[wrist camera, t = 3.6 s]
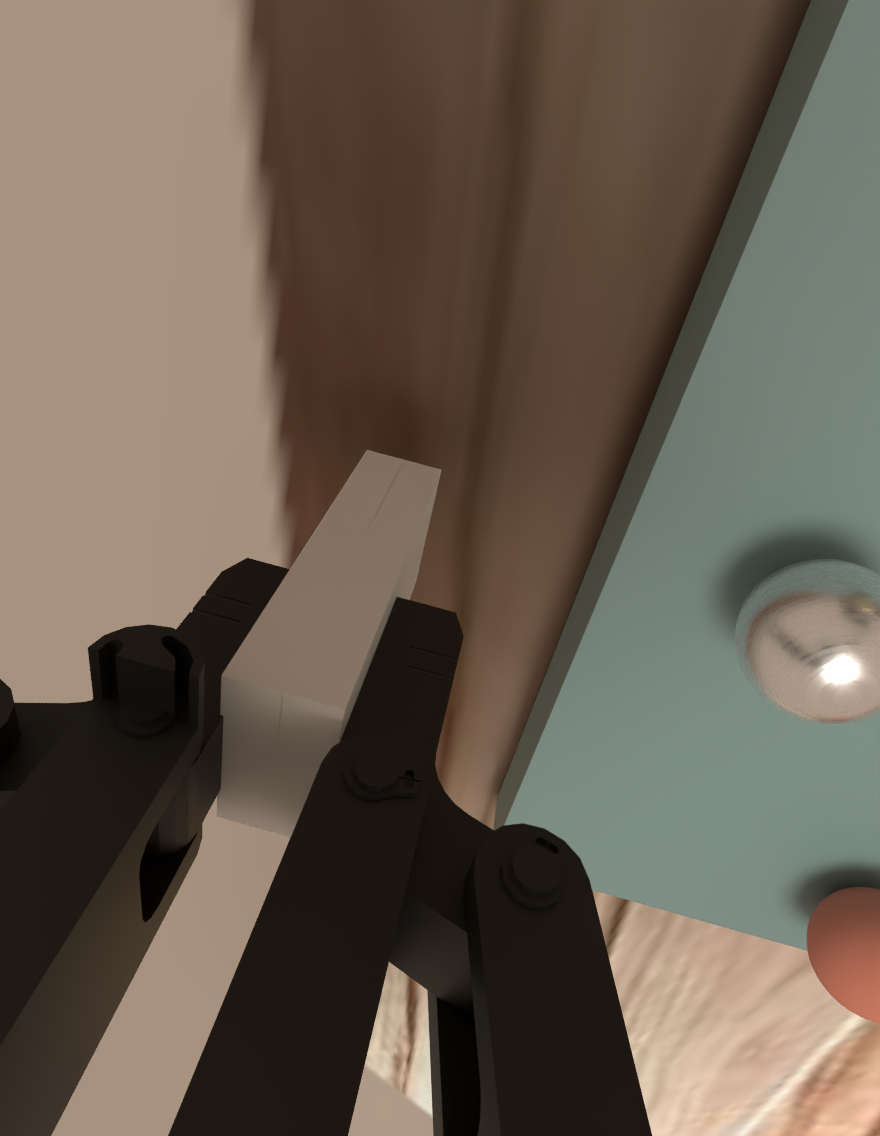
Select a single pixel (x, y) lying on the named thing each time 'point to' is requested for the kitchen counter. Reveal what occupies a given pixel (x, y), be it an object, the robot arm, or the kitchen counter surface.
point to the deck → (736, 544)
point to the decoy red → (848, 948)
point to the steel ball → (814, 641)
